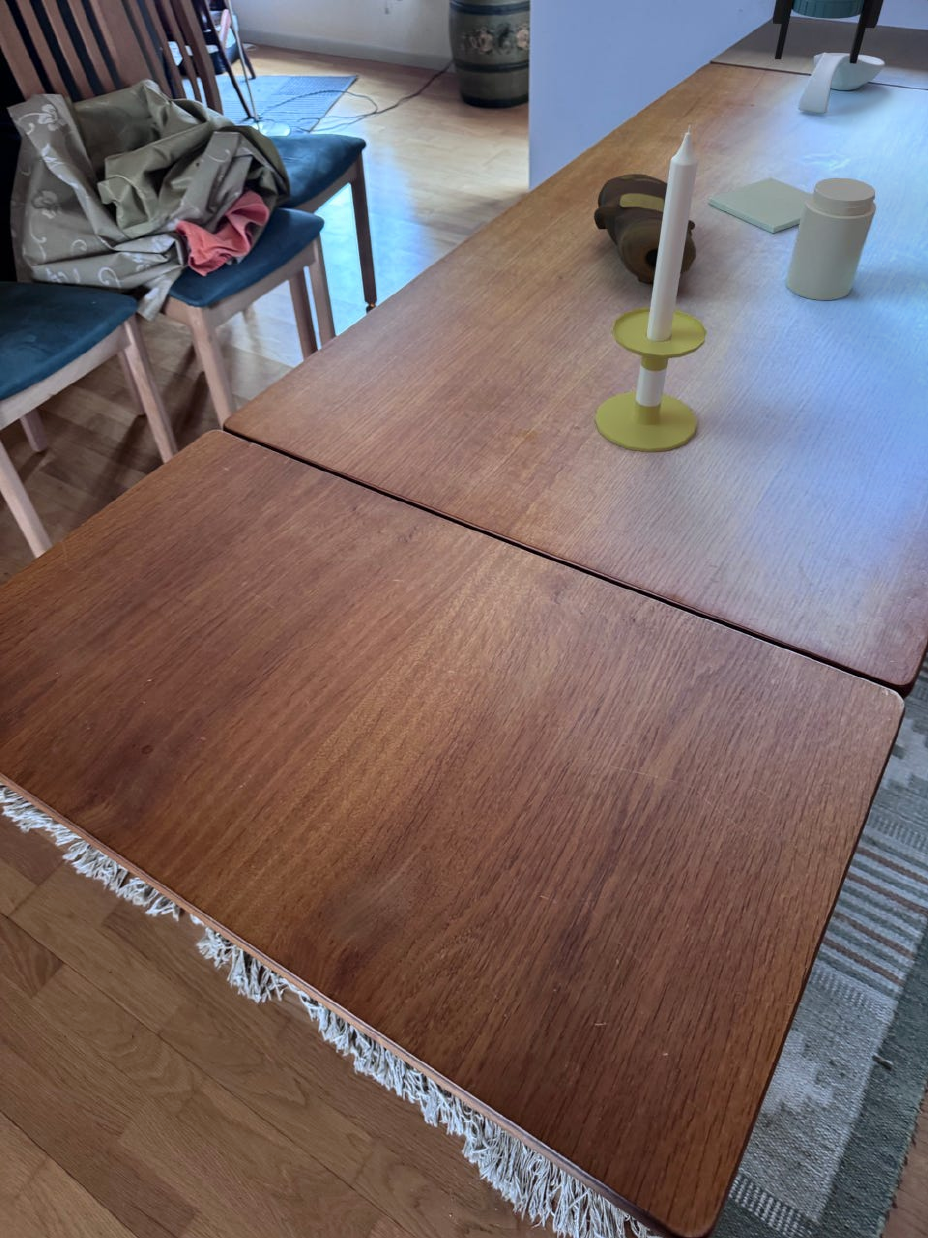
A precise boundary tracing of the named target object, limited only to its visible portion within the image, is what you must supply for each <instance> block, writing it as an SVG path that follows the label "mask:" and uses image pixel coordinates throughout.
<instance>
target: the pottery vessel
mask: <svg viewBox="0 0 928 1238" xmlns="http://www.w3.org/2000/svg"><path fill="white" fill-rule="evenodd" d="M667 185H668V182H666V181H664V180H662V179H660V178H658V177H654V176H651V175H647V174H642V173H641V174H640V173H630V174H624V175H620V176H615V177H612V178H610V179H608V180H606V182H605V183H604V184H603V186H602V188H601V190H600V192H599V193H598V196H597V208H596V209H595V210H594V212H593V220H594V223H595V225H596V227H597V229H598V230H599V231H600V230H606V231H607V234H608V236H609V237H610V239H611V241H612V242H613V243H614V244H615V245H616V246H617V252H618V255H619V259H620V260H621V262H622V264H623V265H624V266H625V268H626V269H627V270H628V271H629V272H630V273H631V274H633V275H634V276H635V277H637V281H638V282H645V283H650V282H654V278H655V271H656V264H657V257H658V250H659V242H660V235H661V228H662V221H663V214H664V206H665V199H666V192H667ZM694 229H696V223H695V221H693V220H691V219H689V221H688V227H687V233H686V240H685V246H684V252H683V258H682V265H681V271H680V276H682V275H684V274H685V273H686V272H687V271H689V270H690V269H691V267H692V266H693V263H694V262H695V260H696V258H697V257H696V256H697V248H696V245H695V242H694V240H693V237H692V236H693V233H692V231H693V230H694Z"/></svg>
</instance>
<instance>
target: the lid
mask: <svg viewBox="0 0 928 1238" xmlns="http://www.w3.org/2000/svg"><path fill="white" fill-rule="evenodd" d="M864 4H865V0H794V1H793V6H792V11H793V12H794V13H796V14H798V15H801V16H805V17H809V18H816V19H825V20H826V19H827V20H837V19H839V20H840V19H848V18H854V17H857V16H860V14H861V13H862V12H863V8H864Z"/></svg>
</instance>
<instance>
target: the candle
mask: <svg viewBox="0 0 928 1238" xmlns="http://www.w3.org/2000/svg"><path fill="white" fill-rule="evenodd" d="M691 128H692V125H691V124H689V125H688V130H687V132H685V135H684V137H683V141H682V142H681V145H680V147H679V148H678V151H677V152H676V154H675V155H673V156H672V157H671V159H670V164H669V169H668V170H669V172H668V177H667V183H668V185H667V192H666V199H665V206H664V214H663V221H662V228H661V235H660V242H659V250H658V257H657V264H656V271H655V278H654V281H653V287H652V292H651V293H652V294H651V301H650V306H649V307H644V308H643V307H642V308H637V309H633V310H631V311H627V312H624V313H623V314H622V315H620V316H619V317H618V318H616V319H615V320H614V321H613V325H612V328H611V333H612V336H613V338H614V340H615V342H616V344H618V345H619V346H620V347H622V348H623V349H625V350H626V351H627V352H630V353H633V354H635V355H638V356H641V359H640V366H639V373H638V380H637V387H636V391H627V392H626V391H625V392H622V393H619V394H617V395H613V396H611V397H609V398H607V399H606V400H605V401H604V402H603V403H602V404H600V405H599V406H598V408H597V411H596V414H595V417H594V422H595V425H596V427H597V431H598V432H599V433H600V434H601V435H602V436H603V437H604V438H606V439H607V440H608V441H609V442H610V443H613V444H615V445H618V446H619V447H622V448H625V449H627V450H633V451H639V452H646V453H653V452H654V453H655V452H665V451H670V450H673V449H676V448H678V447H680V446H683V445H685V444H686V443H687V442H689V440H690V439H691V438H693V437H694V435H695V434H696V429H697V424H698V420H697V417H696V416H695V414H694V412H693V410H692V408H691V407H689V406H688V405H687V404H685V402H683V401H681V400H680V399H678V398H675V397H672V396H670V395H667V394H664V389H665V383H666V376H667V370H668V364H669V359H674V358H681V357H685V356H687V355H690V354H694V353H695V352H697V350H699V349H700V348H701V347H702V346H703V345H704V344H705V341H706V336H707V330H706V328H705V326H704V325H703V324H704V323H702V321H701V320H699V319H697V318H696V317H695V316H693V315H692V314H689V313H686V312H683V311H680V310H677V309H675V308H676V301H677V296H678V295H677V294H678V290H679V284H680V283H679V281H680V277H681V275H680V271H681V265H682V258H683V252H684V246H685V240H686V233H687V227H688V221H689V220H690V216H691V215H690V214H691V210H692V209H691V207H692V201H693V195H694V189H695V183H696V177H697V170H698V165H699V159H698V158H697V157H696V156H695V152H694V148H693V140H692V132H690V131H691Z"/></svg>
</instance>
